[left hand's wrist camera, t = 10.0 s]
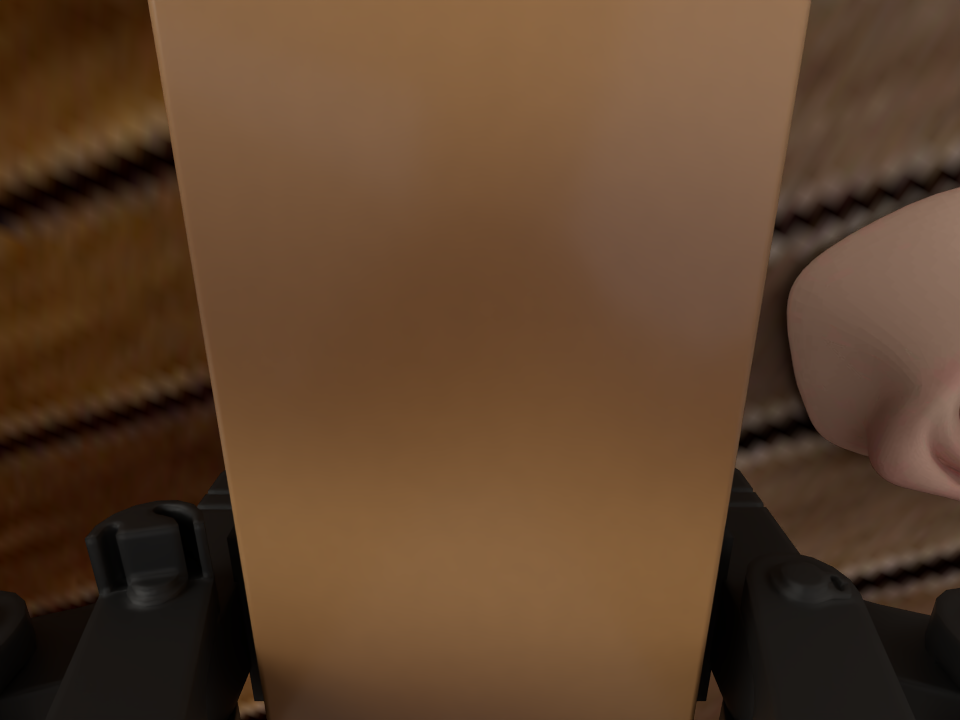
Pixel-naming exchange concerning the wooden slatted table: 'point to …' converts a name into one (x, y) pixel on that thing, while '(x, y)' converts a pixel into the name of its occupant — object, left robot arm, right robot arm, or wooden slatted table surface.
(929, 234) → the anatomical model
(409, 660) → the post
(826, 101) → the wooden slatted table surface
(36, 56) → the wooden slatted table surface
